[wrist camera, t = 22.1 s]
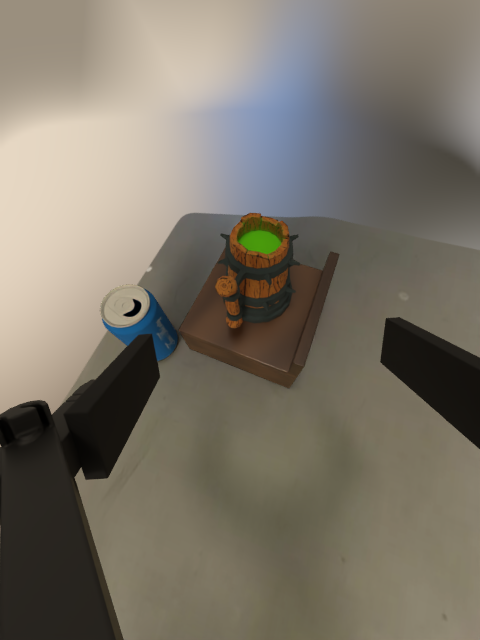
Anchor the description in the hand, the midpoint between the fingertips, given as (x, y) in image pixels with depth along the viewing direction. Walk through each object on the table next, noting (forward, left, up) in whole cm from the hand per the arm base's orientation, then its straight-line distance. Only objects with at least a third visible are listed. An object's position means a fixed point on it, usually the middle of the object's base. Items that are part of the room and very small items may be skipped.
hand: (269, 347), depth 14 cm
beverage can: (-18, +3, -23) cm, 29 cm away
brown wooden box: (-5, +12, -23) cm, 26 cm away
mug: (-5, +12, -16) cm, 21 cm away
